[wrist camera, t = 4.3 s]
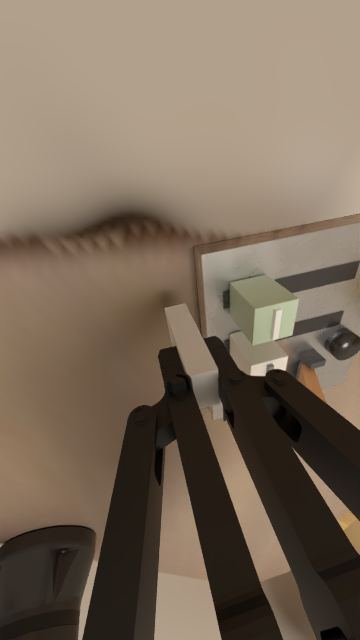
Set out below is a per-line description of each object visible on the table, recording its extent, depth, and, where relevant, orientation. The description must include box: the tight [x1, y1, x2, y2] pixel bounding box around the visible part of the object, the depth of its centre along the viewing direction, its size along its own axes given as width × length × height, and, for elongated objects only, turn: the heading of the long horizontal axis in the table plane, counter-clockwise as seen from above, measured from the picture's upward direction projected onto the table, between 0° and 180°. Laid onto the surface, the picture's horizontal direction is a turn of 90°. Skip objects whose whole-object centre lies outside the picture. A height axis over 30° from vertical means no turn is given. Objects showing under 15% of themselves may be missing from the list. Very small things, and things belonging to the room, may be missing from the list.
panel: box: [194, 214, 360, 421], centre depth 23 cm, size 17×20×4 cm
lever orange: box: [296, 361, 326, 403], centre depth 23 cm, size 1×3×8 cm, turn 6°
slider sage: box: [230, 274, 299, 346], centre depth 17 cm, size 3×3×4 cm
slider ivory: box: [230, 331, 288, 376], centre depth 20 cm, size 3×3×4 cm
